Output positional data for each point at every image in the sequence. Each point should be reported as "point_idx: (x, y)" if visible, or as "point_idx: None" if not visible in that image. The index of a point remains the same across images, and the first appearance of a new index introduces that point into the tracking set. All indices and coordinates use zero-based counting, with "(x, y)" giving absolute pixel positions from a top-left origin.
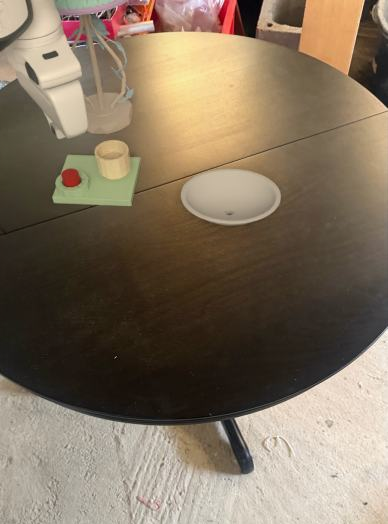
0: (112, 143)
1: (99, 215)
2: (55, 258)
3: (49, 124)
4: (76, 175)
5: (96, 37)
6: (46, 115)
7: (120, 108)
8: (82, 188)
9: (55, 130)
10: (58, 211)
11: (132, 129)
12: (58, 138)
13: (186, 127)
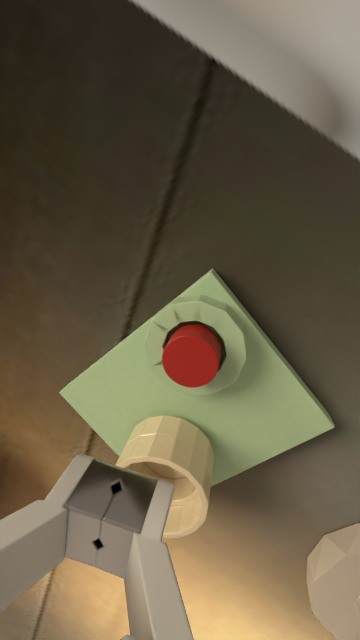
0: (190, 520)
1: (90, 318)
2: (28, 130)
3: (153, 522)
4: (166, 369)
5: None
6: (145, 600)
7: (353, 623)
8: (145, 348)
9: (46, 497)
10: (175, 255)
11: (285, 568)
12: (79, 454)
13: (193, 609)
